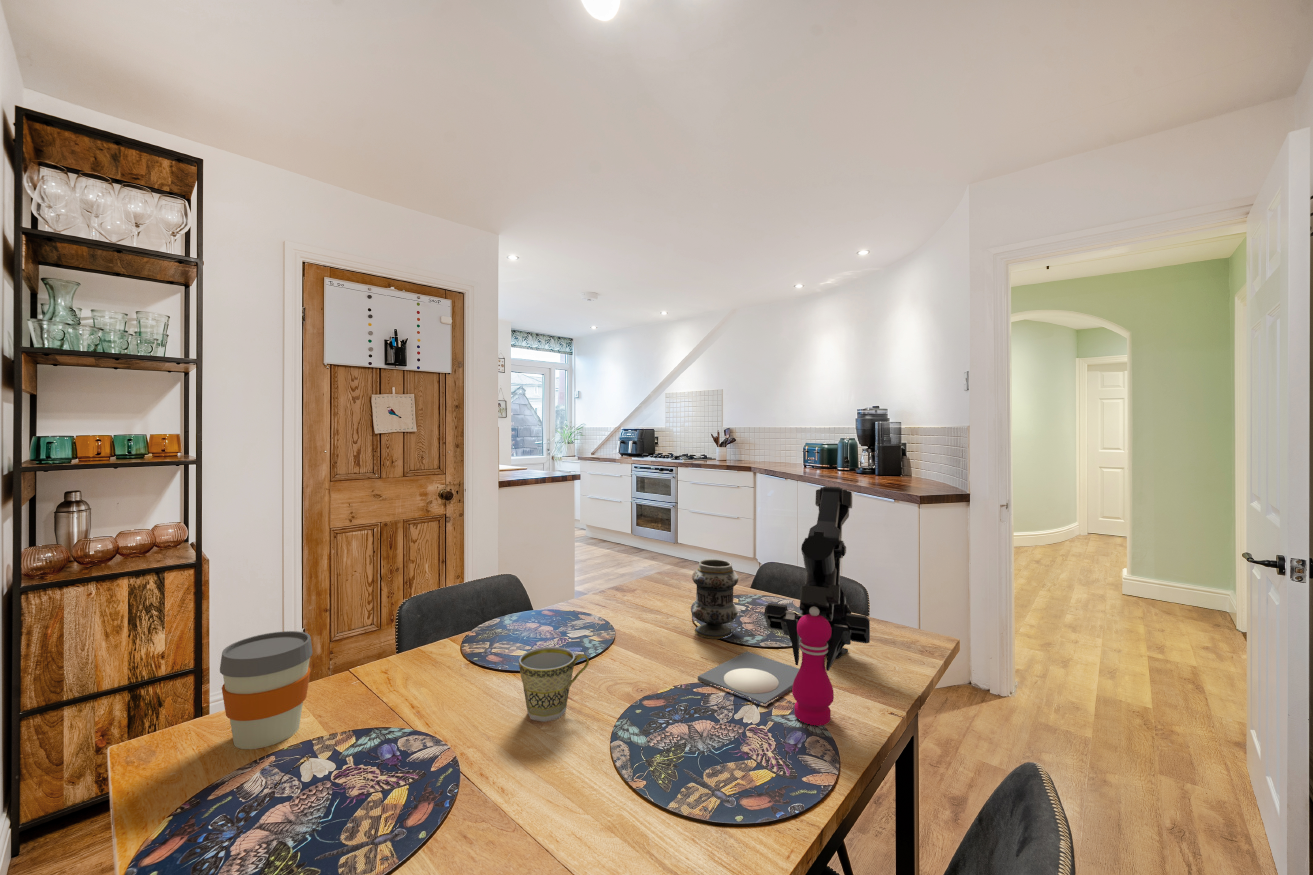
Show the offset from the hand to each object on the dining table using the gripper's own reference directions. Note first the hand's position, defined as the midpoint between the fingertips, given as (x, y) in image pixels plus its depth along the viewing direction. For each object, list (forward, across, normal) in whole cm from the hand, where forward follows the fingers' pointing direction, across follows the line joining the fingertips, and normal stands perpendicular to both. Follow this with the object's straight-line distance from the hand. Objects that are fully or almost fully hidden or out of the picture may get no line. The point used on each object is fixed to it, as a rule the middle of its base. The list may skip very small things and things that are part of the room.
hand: (811, 666), depth 96 cm
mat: (-2, -13, +16) cm, 20 cm away
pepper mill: (+6, 0, +8) cm, 10 cm away
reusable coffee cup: (+37, -83, -23) cm, 93 cm away
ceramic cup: (+18, -44, -4) cm, 47 cm away
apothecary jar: (-17, -28, +31) cm, 46 cm away
